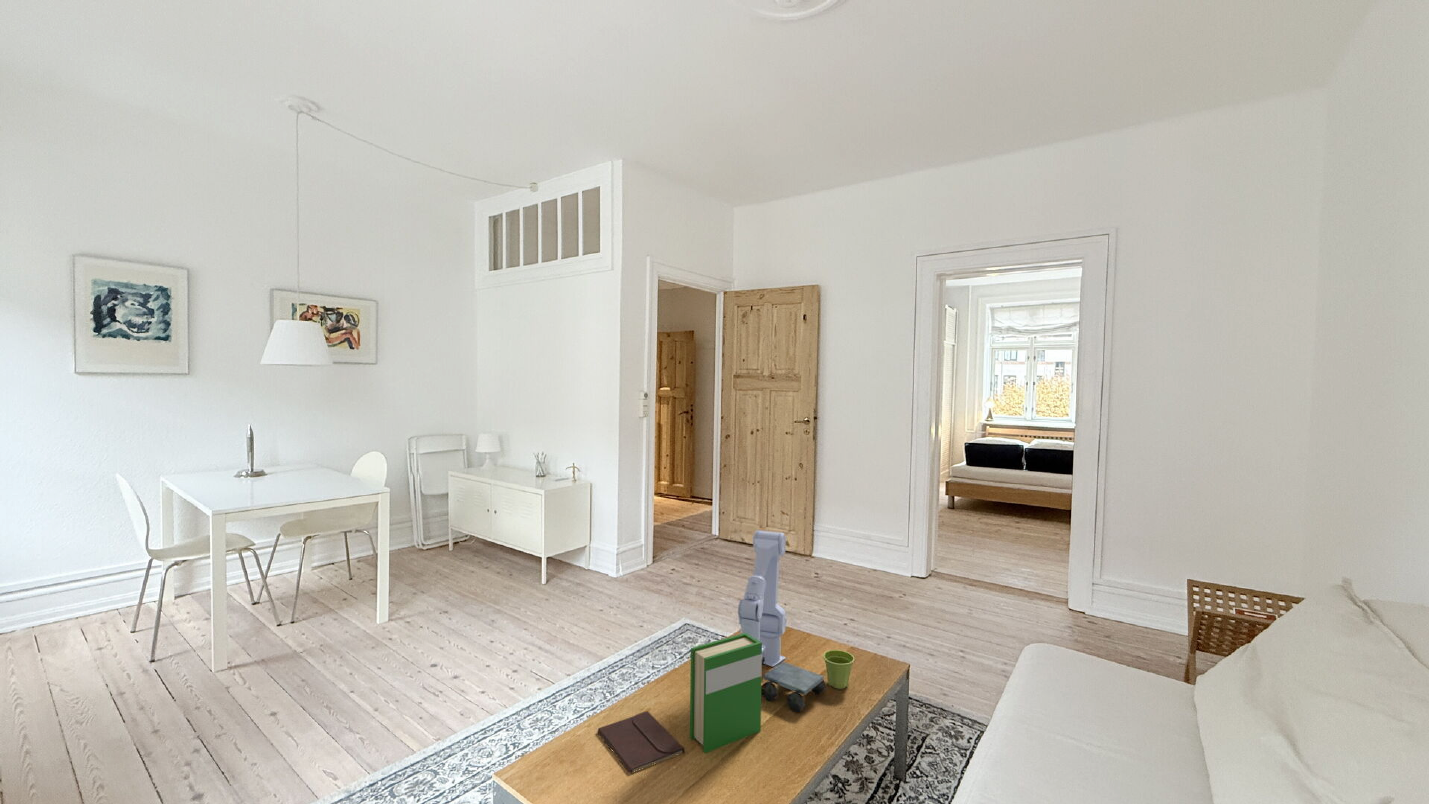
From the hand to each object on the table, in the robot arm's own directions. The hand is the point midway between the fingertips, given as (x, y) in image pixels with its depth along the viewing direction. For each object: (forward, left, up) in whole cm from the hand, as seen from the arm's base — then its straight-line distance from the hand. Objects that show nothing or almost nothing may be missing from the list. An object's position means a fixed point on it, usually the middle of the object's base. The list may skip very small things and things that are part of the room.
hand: (749, 683), depth 178 cm
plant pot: (+19, +21, -3) cm, 28 cm away
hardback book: (+8, -22, -3) cm, 23 cm away
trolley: (+12, +6, -2) cm, 13 cm away
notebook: (-8, -38, -3) cm, 39 cm away
